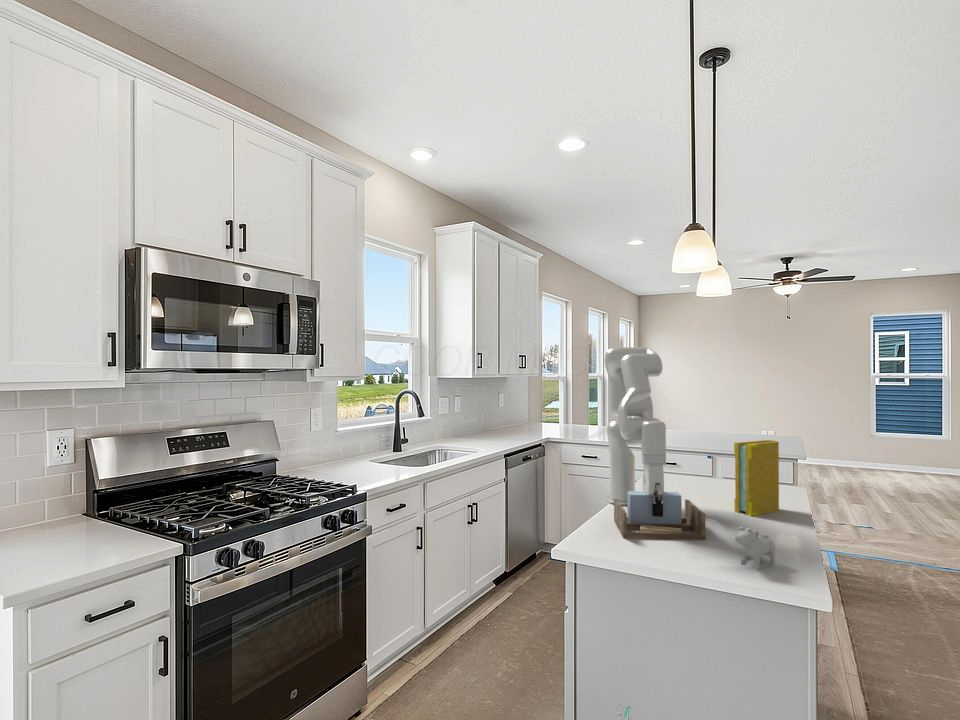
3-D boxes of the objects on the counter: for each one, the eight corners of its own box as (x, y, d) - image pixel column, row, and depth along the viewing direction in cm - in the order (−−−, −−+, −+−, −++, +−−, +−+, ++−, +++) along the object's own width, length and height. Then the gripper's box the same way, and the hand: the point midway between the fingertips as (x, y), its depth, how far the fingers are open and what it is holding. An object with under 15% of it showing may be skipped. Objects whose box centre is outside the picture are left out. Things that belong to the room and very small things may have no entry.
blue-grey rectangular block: (627, 527, 186) (627, 491, 186) (677, 528, 185) (677, 491, 185) (630, 532, 181) (630, 494, 181) (681, 533, 180) (681, 495, 180)
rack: (614, 525, 188) (614, 498, 188) (688, 526, 186) (688, 499, 186) (623, 542, 170) (623, 512, 170) (705, 544, 168) (705, 514, 168)
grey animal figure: (729, 566, 151) (729, 526, 151) (761, 558, 157) (760, 519, 157) (747, 573, 146) (747, 531, 146) (779, 564, 152) (778, 524, 152)
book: (750, 516, 199) (749, 444, 199) (734, 511, 205) (734, 442, 205) (783, 510, 206) (783, 441, 206) (767, 506, 212) (767, 439, 212)
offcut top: (641, 531, 178) (641, 524, 178) (681, 535, 174) (681, 528, 174) (640, 534, 174) (639, 528, 174) (681, 538, 170) (681, 532, 170)
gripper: (636, 454, 192) (637, 505, 192) (647, 463, 174) (648, 519, 174) (659, 455, 191) (659, 505, 191) (672, 463, 174) (673, 519, 174)
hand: (654, 512), depth 183 cm, fingers open, 9 cm apart
